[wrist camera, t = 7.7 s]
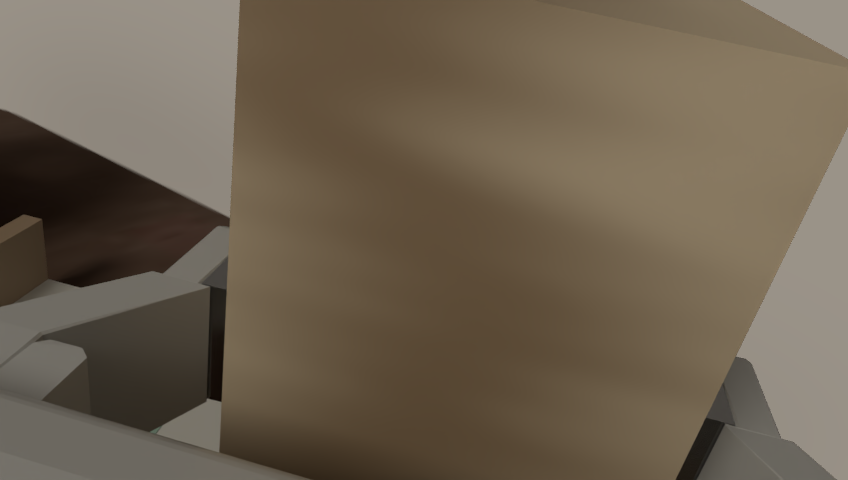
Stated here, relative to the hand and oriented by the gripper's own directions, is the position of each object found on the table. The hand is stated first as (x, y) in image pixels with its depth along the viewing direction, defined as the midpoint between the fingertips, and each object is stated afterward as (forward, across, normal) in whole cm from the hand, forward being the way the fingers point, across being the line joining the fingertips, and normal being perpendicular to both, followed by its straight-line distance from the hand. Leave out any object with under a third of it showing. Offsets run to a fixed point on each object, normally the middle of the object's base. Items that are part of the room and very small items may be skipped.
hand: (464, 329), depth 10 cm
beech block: (-1, 0, +7) cm, 7 cm away
